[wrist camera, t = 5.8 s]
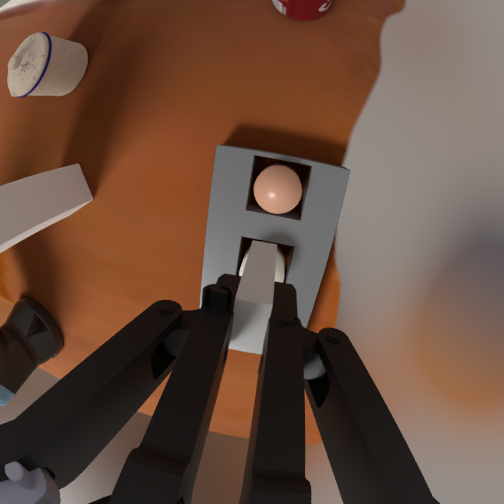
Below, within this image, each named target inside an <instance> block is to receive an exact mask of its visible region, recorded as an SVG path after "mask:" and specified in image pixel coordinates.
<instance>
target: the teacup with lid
mask: <svg viewBox="0 0 504 504" xmlns="http://www.w3.org/2000/svg"><path fill="white" fill-rule="evenodd" d="M87 63H88V54H87V51H86V49H85V47H84V46H83V45H82V44H80V43H76V42H73V41H69V40H66V39H62V38H58V37H54V36H50V35H48V34H47V33H45V32H38V33H34V34H32V35H30V36H29V37H28V38H26V39H25V40H24V41H23V42H22V43H21V45H20V46H19V47H18V49H17V50H16V52H15V54H14V56H13V57H12V58H11V59H10V61H9V63H8V69H9V71H8V87H9V90H10V92H11V95H12V96H13V97H25V96H64V95H66V94H68V93H70V92H71V91H73V90H74V89H75V88H76V87H77V85H78V84H79V83H80V81H81V80H82V78H83V76H84V74H85V71H86V68H87Z"/></svg>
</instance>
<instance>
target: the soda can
mask: <svg viewBox="0 0 504 504" xmlns="http://www.w3.org/2000/svg"><path fill="white" fill-rule="evenodd" d="M272 2H273V5H274V7H275V8H276V9H277V10H278V11H279V12H280V13H281V14H283V15H284V16H286V17H288V18H291V19H294V20H299V21H310V20H315V19H318V18H320V17H322V16H323V15H325V14H326V13H327V12H328V10H329V8H330V5H331V2H332V0H272Z"/></svg>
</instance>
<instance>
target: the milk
mask: <svg viewBox="0 0 504 504" xmlns="http://www.w3.org/2000/svg"><path fill="white" fill-rule="evenodd" d="M92 200H93V196H92V194H91V192H90V189H89V187H88V185H87V182H86V180H85V177H84V175H83V173H82V170H81V167H80V165H79V163H78V164H74V165H70V166H65V167H61V168H58V169H54V170H50V171H46V172H43V173H39V174H36V175H33V176H29V177H26V178H23V179H20V180H16V181H13V182H10V183H7V184H4V185H2V186H0V253H1V252H3V251H4V250H6V249H8V248H9V247H11V246H13V245H15V244H16V243H18V242H20V241H22V240H23V239H25V238H27V237H29V236H31V235H32V234H34V233H36V232H38V231H40V230H42V229H44V228H46V227H48V226H49V225H51V224H53V223H55V222H57V221H59V220H61V219H63V218H65V217H67V216H69V215H71V214H73V213H74V212H75V211H77V210H78V209H80V208H81V207H83V206H84V205H86V204H87V203H89V202H90V201H92Z"/></svg>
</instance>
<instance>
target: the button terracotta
mask: <svg viewBox="0 0 504 504" xmlns="http://www.w3.org/2000/svg"><path fill="white" fill-rule="evenodd" d="M301 195H302V186H301V182H300V180H299V177H298V175H297V173H296V172H295V170H294V169H293V168H291V167H290V166H288V165H285V164H281V163H276V164H271V165H269V166H267V167H266V168H264V169H263V170H262V172H261V173H260V175H259V176H258V177H257V179H256V181H255V184H254V196H255V199H256V201H257V202H258V204H259V205H260V206H261V207H262V208H263V209H264V210H266V211H268V212H271V213H276V214H281V213H286V212H288V211H290V210H292V209H293V208H294V207H295V206H296V205H297V204H298V203H299V201H300V199H301Z"/></svg>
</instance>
